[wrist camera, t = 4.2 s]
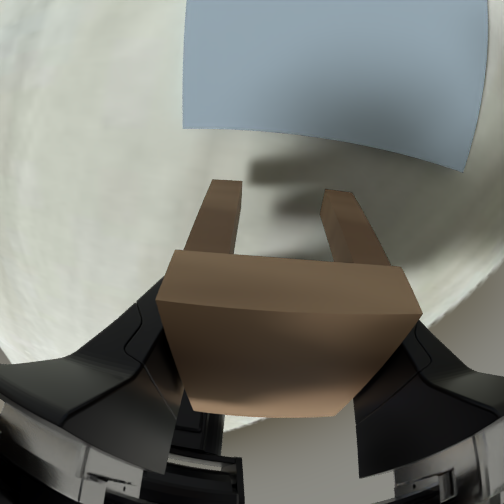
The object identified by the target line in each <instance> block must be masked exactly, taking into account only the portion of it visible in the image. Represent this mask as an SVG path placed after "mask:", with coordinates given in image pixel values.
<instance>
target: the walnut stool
mask: <svg viewBox="0 0 504 504" xmlns="http://www.w3.org/2000/svg"><path fill="white" fill-rule="evenodd" d="M241 198H242V181H232V180H214V179H212V182H211V184H210V186H209V189H208V191H207V193H206V196H205V198H204V200H203V203H202V205H201V208H200V210H199V212H198V215H197V217H196V220H195V222H194V225H193V227H192V230H191V232H190V235H189V237H188V240H187V242H186V245H185V248H184V250H175V251H174V254H173V256H172V259H171V261H170V264H169V266H168V269H167V271H166V274H165V276H164V279H163V281H162V284H161V286H160V289H159V292H158V294H157V297H156V304H157V307H158V311H159V314H160V318H161V321H162V324H163V327H164V331H165V334H166V337H167V340H168V343H169V346H170V349H171V352H172V355H173V358H174V361H175V364H176V367H177V369H178V372H179V375H180V378H181V380H182V383H183V386H184V388H185V391H186V393H187V396H188V398H189V401H190V403H191V406H192V408H193V411H199V412H206V413H214V414H224V415H235V416H248V417H271V418H273V417H274V418H306V417H329V416H335V415H336V414H337V413H338V412H339V411H340V410H341V409H342V408H343V407H344V406H345V405H347V404H348V403H349V401H351V400H352V399H353V398H354V397H355V395H356V394H357V393H358V392H359V391H360V390H361V389H362V388H363V387H364V386H365V385H366V384H367V383H368V382H369V381H370V380H371V378H372V377H373V376H374V375H375V374H376V373H377V372H378V371H379V369H380V368H381V367H382V366H383V365H384V364H385V363H386V361H387V360H388V359H389V358H390V357H391V355H392V354H393V353H394V352H395V350H396V349H397V348H398V347H399V345H400V344H401V343H402V342H403V340H404V339H405V338H406V336H407V335H408V334H409V332H410V331H411V330H412V328H413V327H414V326H415V324H416V323H417V321H418V320H419V319H420V317H421V316H422V314H423V313H422V310H421V308H420V306H419V304H418V301H417V299H416V297H415V295H414V292H413V290H412V288H411V286H410V284H409V282H408V280H407V278H406V275H405V273H404V271H403V269H402V267H397V266H391V264H390V262H389V260H388V258H387V256H386V254H385V252H384V250H383V248H382V246H381V244H380V242H379V240H378V238H377V236H376V234H375V233H374V231H373V229H372V227H371V225H370V223H369V221H368V220H367V218H366V216H365V214H364V212H363V211H362V209H361V207H360V205H359V203H358V202H357V200H356V198H355V197H354V195H353V193H350V192H343V191H336V190H328V189H325V192H324V197H323V202H322V206H321V211H320V216H321V220H322V223H323V226H324V229H325V233H326V236H327V240H328V243H329V246H330V250H331V253H332V257H333V261H334V262H328V261H315V260H302V259H288V258H275V257H262V256H249V255H236V254H234V248H235V242H236V235H237V229H238V223H239V217H240V211H241Z"/></svg>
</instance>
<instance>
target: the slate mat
mask: <svg viewBox="0 0 504 504" xmlns="http://www.w3.org/2000/svg"><path fill="white" fill-rule="evenodd" d="M487 47H488V7H487V0H187V4H186V17H185V33H184V55H183V129H235V130H252V131H265V132H277V133H286V134H295V135H303V136H311V137H318V138H325V139H331V140H337V141H343V142H348V143H354V144H359V145H364V146H369V147H373V148H378V149H382V150H387V151H391V152H395V153H399V154H403V155H407V156H411V157H414V158H418V159H421V160H425V161H428V162H432V163H435V164H438V165H441V166H444V167H448V168H451V169H454V170H456V171H459V172H462V173H463V171H464V168H465V165H466V161H467V158H468V155H469V151H470V148H471V144H472V140H473V136H474V132H475V128H476V124H477V120H478V115H479V110H480V105H481V99H482V93H483V87H484V79H485V71H486V61H487Z"/></svg>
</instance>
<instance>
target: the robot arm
mask: <svg viewBox="0 0 504 504" xmlns="http://www.w3.org/2000/svg"><path fill="white" fill-rule="evenodd" d="M163 279H164V276H163V277H162V278H161V279H160V280H159V281H158V282H157V283H156V284H155V285H154V286H152V287H151V288H150V289H149V290H148V291H147V292H146V293H145V294H144V295H143V296H142V297H141V298H139V299H138V300H137V301H136V303H134V304H133V305H132V306H131V307H130V308H129V309H128V310H126V311H125V312H124V313H123V314H122V315H121V316H120V317H119V318H118V319H116V320H115V321H114V322H113V323H111V324H110V325H109V326H108V327H107V328H105V329H104V330H103V331H101V332H100V333H99V334H98V335H96V336H95V337H94V338H92V339H91V340H90V341H89V342H87V343H86V344H85V345H84V346H82V347H81V348H80V349H78V350H77V351H76V352H74V353H72V354H71V355H68V356H66V357H63V358H58V359H51V360H44V361H37V362H29V363H20V364H8V365H7V364H0V399H1V400H3V401H4V402H5V403H4V406H3V409H2V412H1V414H0V504H245V497H244V484H243V469H242V458H241V457H225V456H221V448H222V438H223V428H224V418H225V415H224V414H214V413H206V412H199V411H193V408H192V406H191V403H190V401H189V398H188V396H187V393H186V391H185V388H184V386H183V383H182V380H181V378H180V375H179V372H178V369H177V367H176V364H175V361H174V358H173V355H172V352H171V349H170V346H169V343H168V340H167V337H166V334H165V331H164V327H163V324H162V321H161V318H160V314H159V311H158V307H157V304H156V297H157V294H158V292H159V289H160V286H161V284H162V281H163ZM353 402H354V411H355V422H356V434H357V447H358V464H359V478H365V477H370V476H375V475H380V474H384V473H388V472H392V471H393V474H394V486H395V488H394V491H395V498H391V499H388V500H384V501H381V502H377V503H373V504H504V377H503V376H497V375H491V374H485V373H480V372H477V371H474V370H472V369H470V368H468V367H467V366H466V365H465V364H464V363H463V362H462V361H460V360H459V359H458V358H457V357H456V356H455V355H454V354H453V353H452V352H451V351H450V350H449V349H448V348H447V347H446V346H445V345H444V344H443V343H442V342H440V341H439V340H438V339H437V338H436V337H435V336H434V335H433V334H432V333H431V332H430V331H429V330H428V329H427V328H426V327H425V326H424V324H423V323H422V322H421V321H420V320H418V321H417V323H416V324H415V326H414V327H413V328H412V330H411V331H410V332H409V334H408V335H407V336H406V338H405V339H404V340H403V342H402V343H401V344H400V345H399V347H398V348H397V349H396V350H395V352H394V353H393V354H392V355H391V357H390V358H389V359H388V360H387V361H386V363H385V364H384V365H383V366H382V367H381V368H380V369H379V371H378V372H377V373H376V374H375V375H374V376H373V377H372V378H371V380H370V381H369V382H368V383H367V384H366V385H365V386H364V387H363V388H362V389H361V390H360V391H359V392H358V393H357V394H356V395H355V397H354V398H353ZM168 458H172V459H176V460H181V461H187V462H192V463H198V464H203V465H210V466H217V467H222V468H221V471H216V470H208V469H202V468H196V467H190V466H185V465H180V464H175V463H171V462H167V460H168Z"/></svg>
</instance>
